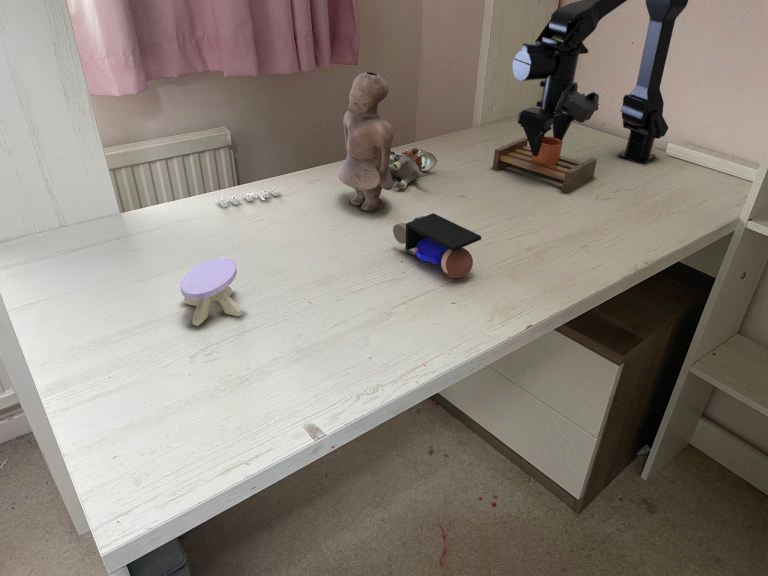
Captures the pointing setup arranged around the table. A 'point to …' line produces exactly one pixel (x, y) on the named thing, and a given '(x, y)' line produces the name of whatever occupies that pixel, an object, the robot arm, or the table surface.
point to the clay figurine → (367, 142)
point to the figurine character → (438, 243)
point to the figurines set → (248, 197)
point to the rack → (564, 170)
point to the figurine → (410, 165)
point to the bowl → (549, 151)
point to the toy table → (210, 287)
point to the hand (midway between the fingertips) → (546, 150)
